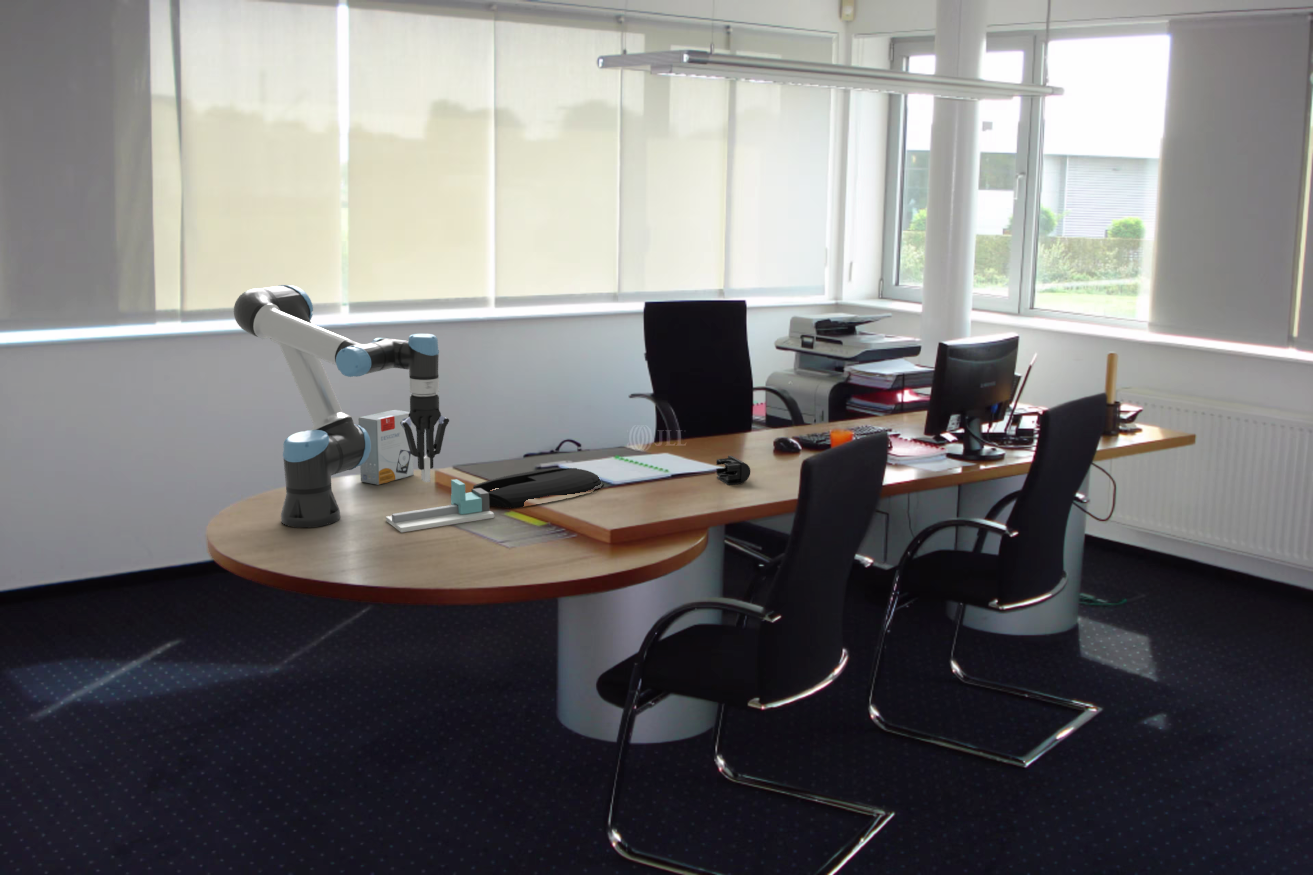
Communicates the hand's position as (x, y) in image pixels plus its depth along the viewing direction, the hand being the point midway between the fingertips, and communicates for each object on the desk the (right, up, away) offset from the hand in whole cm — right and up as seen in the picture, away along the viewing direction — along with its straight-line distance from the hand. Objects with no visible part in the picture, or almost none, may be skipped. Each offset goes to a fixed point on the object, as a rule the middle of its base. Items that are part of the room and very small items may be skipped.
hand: (425, 480), depth 315 cm
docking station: (+27, -5, +32) cm, 42 cm away
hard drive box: (-20, -1, +46) cm, 50 cm away
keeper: (+10, -8, +7) cm, 15 cm away
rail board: (+3, -10, +4) cm, 11 cm away
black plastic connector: (+84, -2, +44) cm, 95 cm away
